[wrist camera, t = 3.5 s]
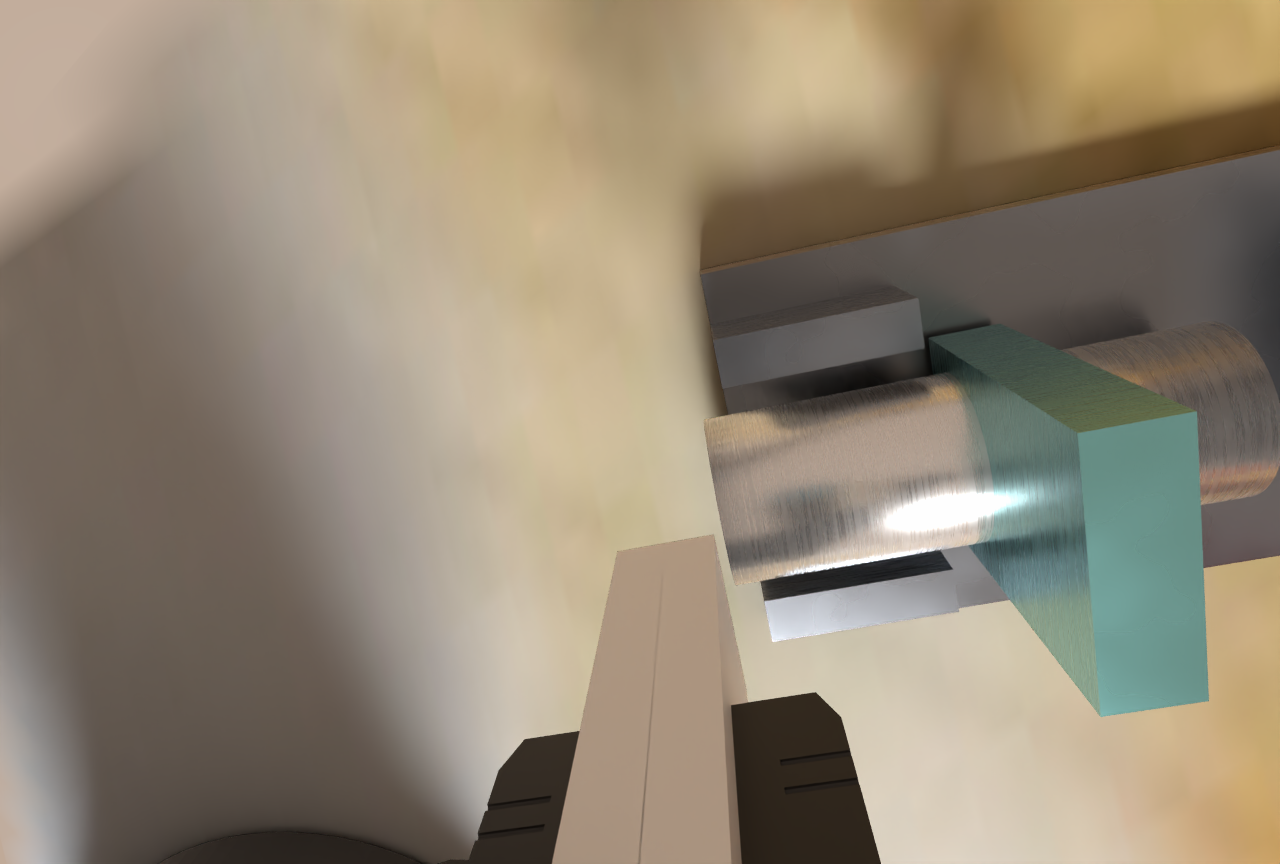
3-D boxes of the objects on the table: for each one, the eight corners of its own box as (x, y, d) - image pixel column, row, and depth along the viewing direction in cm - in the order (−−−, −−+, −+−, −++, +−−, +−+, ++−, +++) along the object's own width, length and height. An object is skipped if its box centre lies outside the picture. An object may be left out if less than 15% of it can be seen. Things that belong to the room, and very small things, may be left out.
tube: (735, 560, 20) (760, 766, 13) (698, 382, 19) (704, 501, 12) (1178, 482, 19) (1473, 662, 12) (1168, 288, 18) (1490, 356, 11)
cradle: (768, 618, 22) (800, 791, 15) (700, 269, 19) (705, 310, 13) (1538, 489, 19) (1928, 630, 13) (1569, 82, 17) (2060, 25, 11)
